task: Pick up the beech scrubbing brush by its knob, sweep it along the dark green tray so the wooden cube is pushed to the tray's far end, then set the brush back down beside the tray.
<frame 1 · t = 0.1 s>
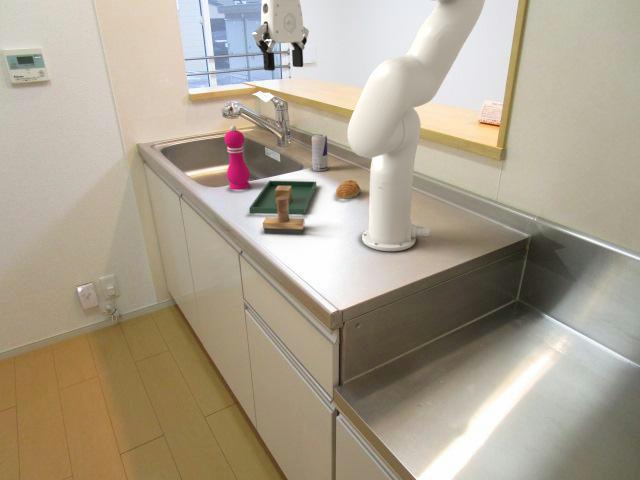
hand: (284, 68, 111), 37 cm above the worktop, tool pointing down, fingers open, 9 cm apart
energy drink: (320, 169, 161), on the worktop
pastry: (348, 196, 136), on the worktop
tray: (285, 201, 133), on the worktop
brush: (284, 231, 114), on the worktop
pepper mill: (239, 189, 144), on the worktop
wooden cube: (284, 201, 131), point 1 cm above the worktop, touching tray
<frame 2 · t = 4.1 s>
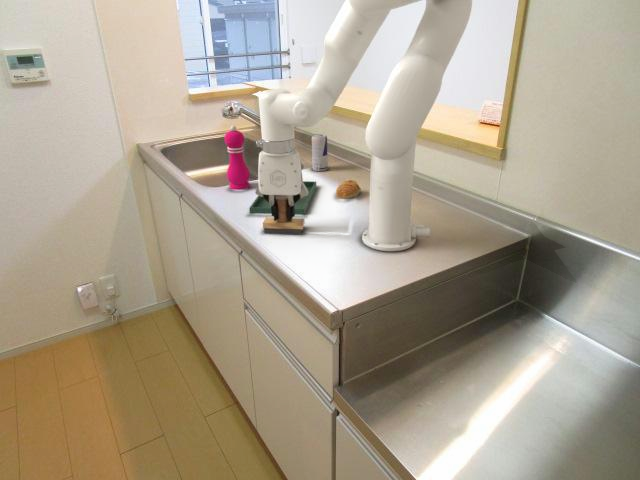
hand: (283, 218, 112), 4 cm above the worktop, tool pointing down, fingers closed on brush, 2 cm apart
brush: (284, 231, 114), on the worktop, touching gripper
everything else where it was.
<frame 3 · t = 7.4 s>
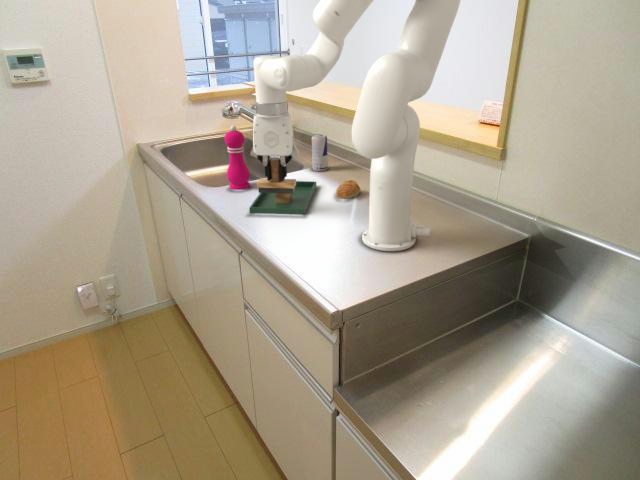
hand: (276, 178, 121), 10 cm above the worktop, tool pointing down, fingers closed on brush, 2 cm apart
brush: (277, 191, 122), point 6 cm above the worktop, touching gripper
everything else where it was.
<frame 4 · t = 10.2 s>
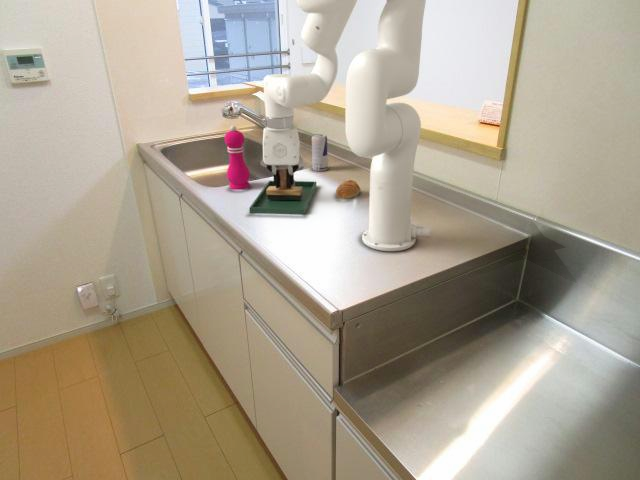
hand: (284, 186, 130), 5 cm above the worktop, tool pointing down, fingers closed on brush, 2 cm apart
brush: (285, 198, 132), point 1 cm above the worktop, touching gripper
wooden cube: (287, 194, 135), point 1 cm above the worktop
everything else where it was.
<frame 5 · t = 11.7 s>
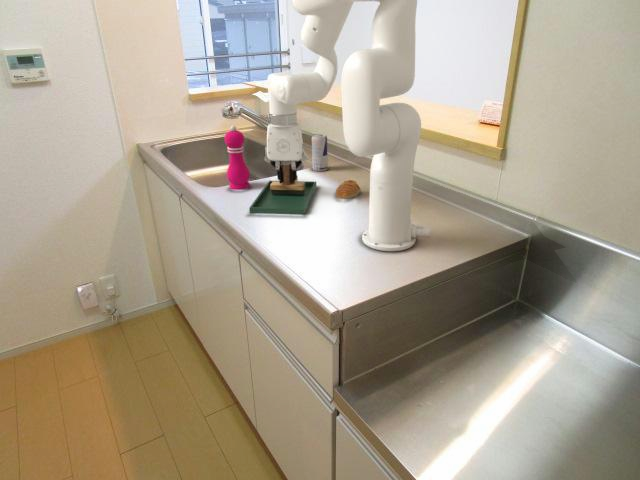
hand: (287, 181, 134), 5 cm above the worktop, tool pointing down, fingers closed on brush, 2 cm apart
brush: (288, 192, 136), point 1 cm above the worktop, touching gripper
wooden cube: (290, 189, 139), point 1 cm above the worktop, touching tray
everything else where it was.
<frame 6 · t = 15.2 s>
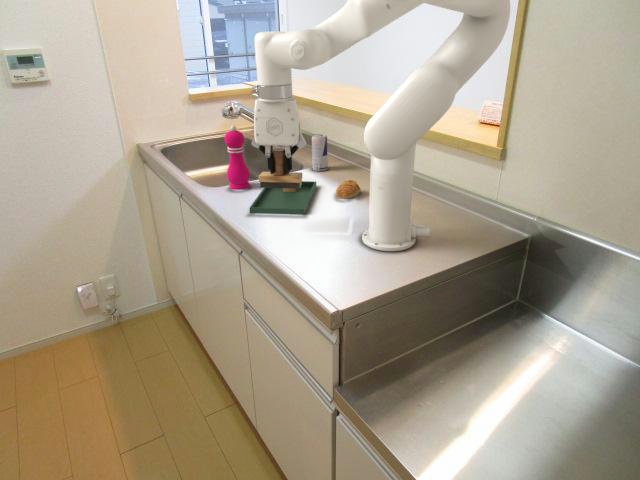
hand: (280, 171, 108), 15 cm above the worktop, tool pointing down, fingers closed on brush, 2 cm apart
brush: (281, 186, 109), point 12 cm above the worktop, touching gripper
everything else where it was.
when the fingers open (4 cm above the worktop, at t = 17.7 s): brush stays where it is, on the worktop.
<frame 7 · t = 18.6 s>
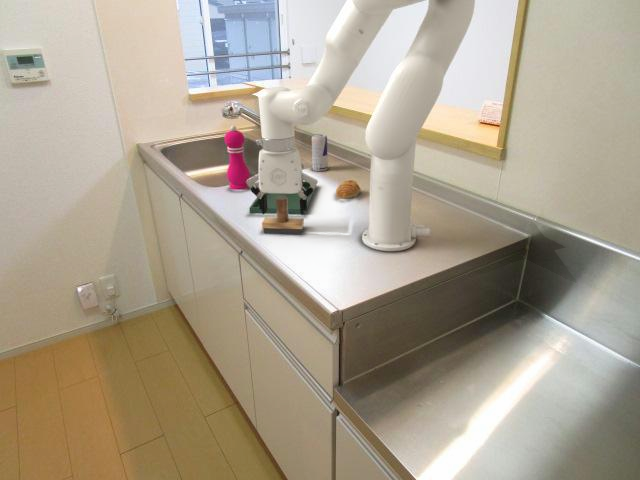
hand: (283, 212, 111), 5 cm above the worktop, tool pointing down, fingers open, 9 cm apart
brush: (283, 231, 114), on the worktop
everything else where it was.
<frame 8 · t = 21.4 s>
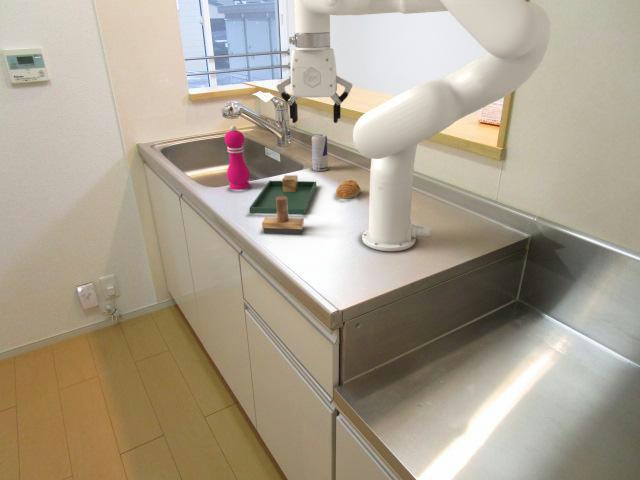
hand: (315, 121, 106), 26 cm above the worktop, tool pointing down, fingers open, 9 cm apart
nothing on the worktop moved.
at the end: wooden cube inside the target area in the tray (0.1 cm from its centre), point 0.8 cm above the tray's base; brush inside the target area (0.2 cm from its centre), on the worktop; the gripper is holding nothing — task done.
